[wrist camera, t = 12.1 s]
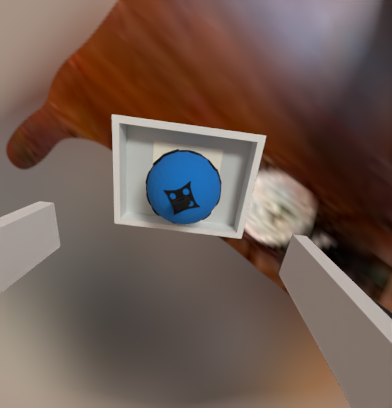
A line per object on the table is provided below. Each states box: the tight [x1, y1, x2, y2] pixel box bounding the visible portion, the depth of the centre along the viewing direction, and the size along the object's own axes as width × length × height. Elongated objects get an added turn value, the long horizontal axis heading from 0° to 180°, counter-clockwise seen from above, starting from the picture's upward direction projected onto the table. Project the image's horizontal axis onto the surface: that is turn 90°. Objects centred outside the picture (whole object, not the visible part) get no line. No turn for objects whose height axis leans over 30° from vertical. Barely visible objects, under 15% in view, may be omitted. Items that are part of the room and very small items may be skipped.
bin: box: [112, 114, 266, 239], centre depth 25 cm, size 14×18×3 cm
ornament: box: [146, 149, 222, 224], centre depth 21 cm, size 9×9×10 cm
